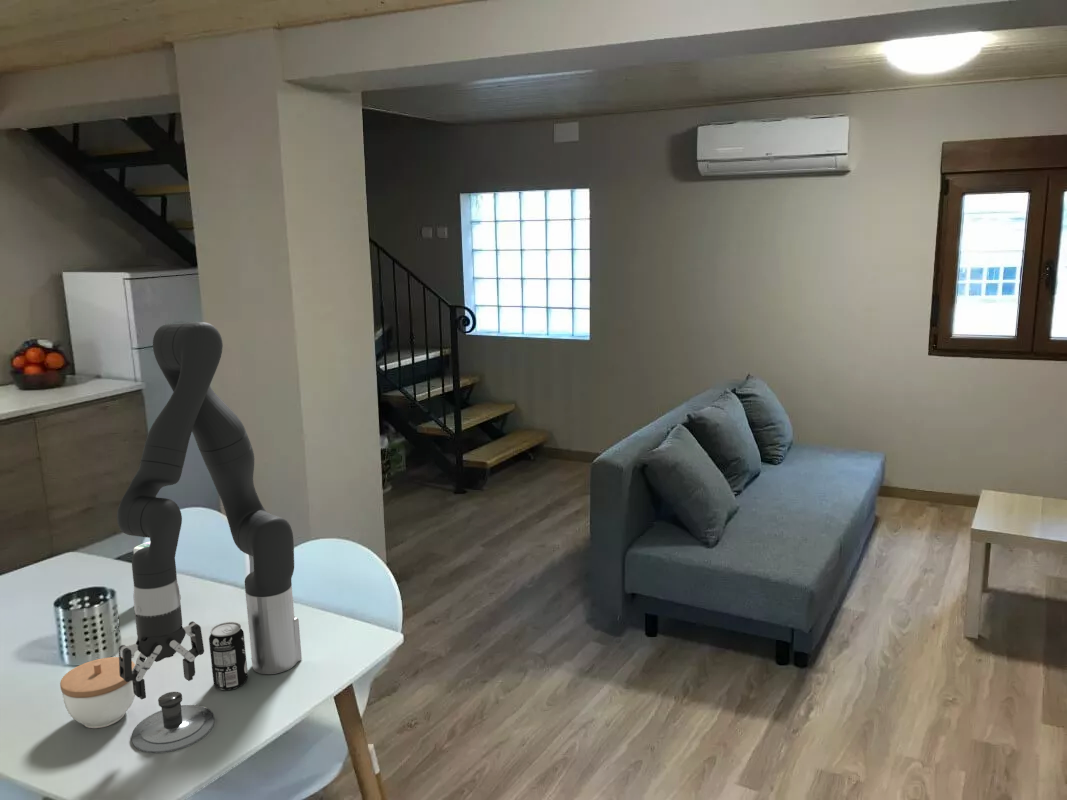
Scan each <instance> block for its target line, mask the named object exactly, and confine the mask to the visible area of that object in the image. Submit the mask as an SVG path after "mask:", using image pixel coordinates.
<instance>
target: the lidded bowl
mask: <svg viewBox="0 0 1067 800" xmlns="http://www.w3.org/2000/svg"><path fill="white" fill-rule="evenodd" d="M135 664H136V663H135V662H134V661H133V660H132V670H133V668H134V666H135ZM59 686H60V690H61V695H62V701H63V703H64V706H65V708H66V711H67V712H68V714H69V715H70V717H71V718H72V719H73V720H74V721H75V722H77V723H79V724H81V725H83V726H84V727H85V728H88V729H100V728H106V727H108V726H112V725H113V724H116V723H117V722H119V721H121V720H122V719H123V718H124V717H125V714H126V713H127V711H128V710H129V709H130V708H131V706H132V704H133V703H134V700H135V697H136V695H135V694H134V692H133V682H132V681H129V682H126V681H125V680H124V679H123V678H121V677H120V673H119V656H114V657H111V656H109V657H104V658H103V657H102V658H97V659H94V660H90V661H87V662H84V663H82V664H80V665H77V666H76V667H73V668H72V669H70V670H69V671H68V672H67V673H65V674H64V676H62V678H61V680H60V681H59Z"/></svg>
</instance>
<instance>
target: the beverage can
mask: <svg viewBox="0 0 1067 800" xmlns="http://www.w3.org/2000/svg"><path fill="white" fill-rule="evenodd" d="M208 643H209V651H210V652H209V653H210V660H211V672H212V680H213V685H214V686H215V687H216V688H218V689H219V690H221V691H232V690H234V689H238V688H241V687H242V686H243V685H244V684H245V683H246V681H247V680H248V679H249V677H248V676H249V675H248V663H247V654H246V644H245V643H246V642H245V632H244V630H243V629H242V625H241V624H240V623H238V622H234V621H227V622H221V623H219V624H216V625H215V626H213V627H211V629H210V635H209V637H208Z"/></svg>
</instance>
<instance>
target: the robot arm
mask: <svg viewBox="0 0 1067 800" xmlns="http://www.w3.org/2000/svg"><path fill="white" fill-rule="evenodd" d="M223 348H224V347H223V338H222V336H221V334H220V332H219V330H218V329H217V328H216V327H215V325H213V324H212V323H209V322H206V321H190V322H189V321H188V322H186V321H185V322H171V323H165V324H163V325H161V326H159V327H158V329H157V330H156V331H155V333H154V335H153V338H152V349H153V355H154V358H155V360H156V363H157V365H158V366H159V368H160V370H161V372H162V374H163V375H164V378H165V380H166V381H167V383H168V384H169V386H170V388H171V390H172V394H171V396H170V398H169V399H168V401H167V403H166V404H165V406H164V408H163V409H162V410H161V411H160V413H159V414H158V415H157V417H156V418H155V420H154V422H153V424H152V425H151V427H150V428H149V431H148V433H147V436H146V440H145V441H144V447H143V450H142V455H141V458H140V463H139V467H138V470H137V471H136V473H135V475H134V477H133V478H132V480H131V482H130V484H129V486H128V487H127V490H126V491H125V492H124V495H123V496H122V498H121V501H120V502H119V505H118V508H117V512H116V521H117V526H118V528H119V529H120V531H121V532H122V533H124V534H126V535H128V536H133V537H141V538H149V542H150V546H149V547H145V548H142V549H140V550H138V551H136V552H135V553H134V552H133V555H132V557H131V570H132V579H133V593H132V594H133V607H134V609H133V610H134V616H135V618H134V619H135V627H136V634H137V639H136V642H135V643H134V644H130V645H125V644H121V645H119V647H118V657H119V673H120V677H121V678H123V679H124V680H125V681H126V682H129V681H132V682H133V692H134V694H135V697H137V698H139V699H140V700H143V699H144V700H145V699H146V697H147V693H146V684H145V683H146V682H145V679H144V677H145V675H146V673H147V672H148V670H150V669H151V668H152V666H153V664H154V662H156V663H157V662H161V661H162V660H164V659H167V658H168V659H169V658H172V657H174V655H175V654H176V653H178V654H179V655H180V656H182V657H183V659H182V667H183V668H182V669H183V677H184V679H185V680H187V681H188V682H190V681H192V680H193V679H194V677H195V676H196V665H195V659H196V658H197V657H198V656H201V655H203V654H204V652H205V647H204V641H203V633H202V627H201V626H200V625H199V624H198V623H197V622H195V621H190V622H189V623H188V625H187V626H184V627H183V616H182V615H183V614H182V605H181V599H182V596H181V592H180V586H179V582H178V576H177V567H176V565H177V564H176V553H177V548H178V544H179V537H180V533H181V530H182V529H181V528H182V523H183V515H182V512H181V509H180V507H179V505H178V504H177V503H176V501H175V500H172V499H170V498H165V497H157V496H158V493H159V492H160V490H161V489H162V488H164V487H168V486H172V485H176V484H178V482H180V479H181V477H182V473H183V469H184V464H185V460H186V456H187V452H188V447H189V444H190V443H189V442H190V438H191V435H192V434H193V437H194V440H195V442H196V446H197V448H198V450H199V452H200V455H201V457H202V460H203V462H204V464H205V466H206V469H207V470H208V473H209V475H210V477H211V480H212V482H213V484H214V487H215V489H216V491H217V494H218V496H219V498H220V500H221V502H222V505H223V509H224V513H225V515H226V519H227V522H228V526H229V530H230V534H231V536H232V539H233V543H234V544H235V546H236V547H237V548H238V549H239V550H240V551H241V552H243V553H244V554H245V555H248V556H251V557H252V558H253V571H251V572H250V573H248V574H247V575H246V577H245V578H244V589H245V590H244V591H245V602H246V613H247V620H248V631H249V632H248V633H249V634H248V635H249V643H250V645H249V646H250V654H251V655H250V656H251V658H250V659H251V664H252V665H251V666H252V669H253V671H254V672H255V673H257V674H261V675H274V674H275V675H276V674H279V673H284V672H286V671H288V670H291V669H292V668H293V667H294V666H296V665H297V664H298V662H300V661H301V660H302V659H303V657H302V645H301V634H300V631H301V630H300V620H299V618H298V617H296V616H295V609H294V608H295V607H294V597H293V586H292V585H293V584H292V578H293V575H294V570H295V547H294V546H295V544H294V534H293V533H294V532H293V529H292V527H291V525H290V522H288V520H286V519H285V518H284V517H281V516H279V515H276V514H273V513H269V512H268V511H266V509H265V507H264V506H263V504H262V502H261V501H260V498H259V496H258V492H257V491H256V488H255V484H254V472H255V471H254V470H255V453H254V449H253V446H252V443H251V441H250V438H249V435H248V433H247V430H246V428H245V426H244V423H243V422H242V420H241V419H240V418H239V417H238V415H237V413H235V411H234V410H232V409H231V408H230V406H228V404H226V403H225V402H224V400H222V399H221V397H219V396H218V394H217V393H216V392H215V391H214V389H213V388H212V387H211V383H212V381H213V379H214V376H215V374H216V372H217V369H218V367H219V364H220V361H221V357H222V355H223V354H222V353H223ZM186 635H187V636H188V637H189V639H190V644H191V648H190V649H189V650H188V649H187V648H185V647H184V646H183V645H182V642H183V640H184V638H185V636H186ZM137 651H138V652H139V655H138V656H137V658H136V660H135V663H134V664H135V666H134V668H133V670H132V661H133V660H132V659H133V658H135V654H136V652H137Z"/></svg>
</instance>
